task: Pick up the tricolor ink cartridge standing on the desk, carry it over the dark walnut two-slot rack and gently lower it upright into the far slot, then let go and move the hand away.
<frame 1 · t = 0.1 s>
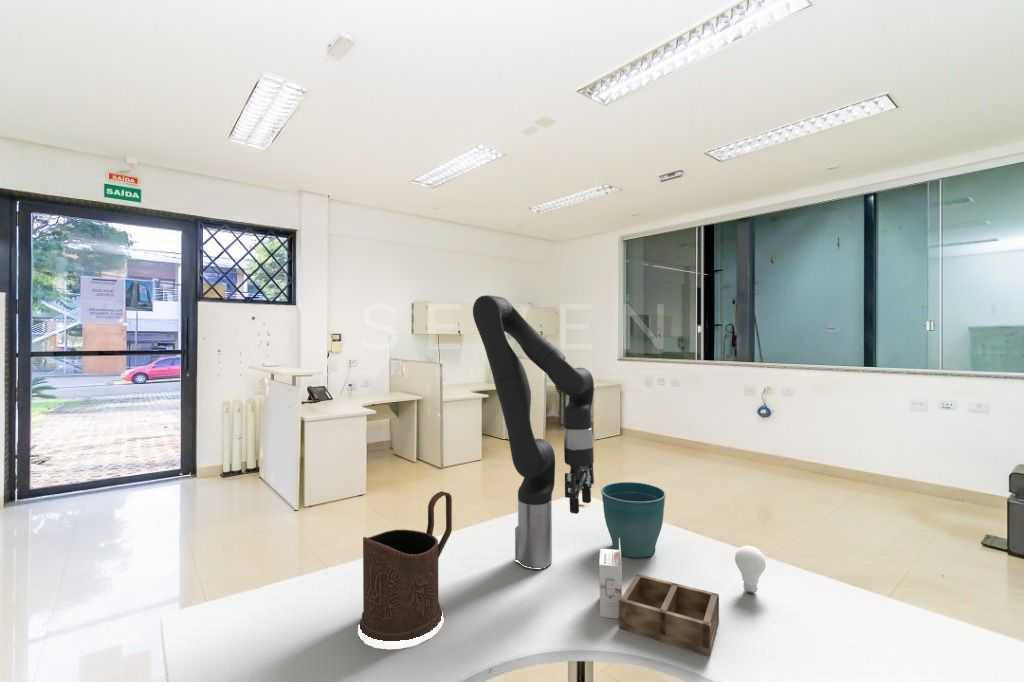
hand: (580, 507, 123), 17 cm above the table, tool pointing down, fingers open, 8 cm apart
flower pot: (632, 550, 138), on the table
cup holder: (411, 617, 105), on the table
ink cartridge box: (610, 608, 108), on the table
walnut rack: (669, 625, 101), on the table
light bulb: (750, 593, 114), on the table
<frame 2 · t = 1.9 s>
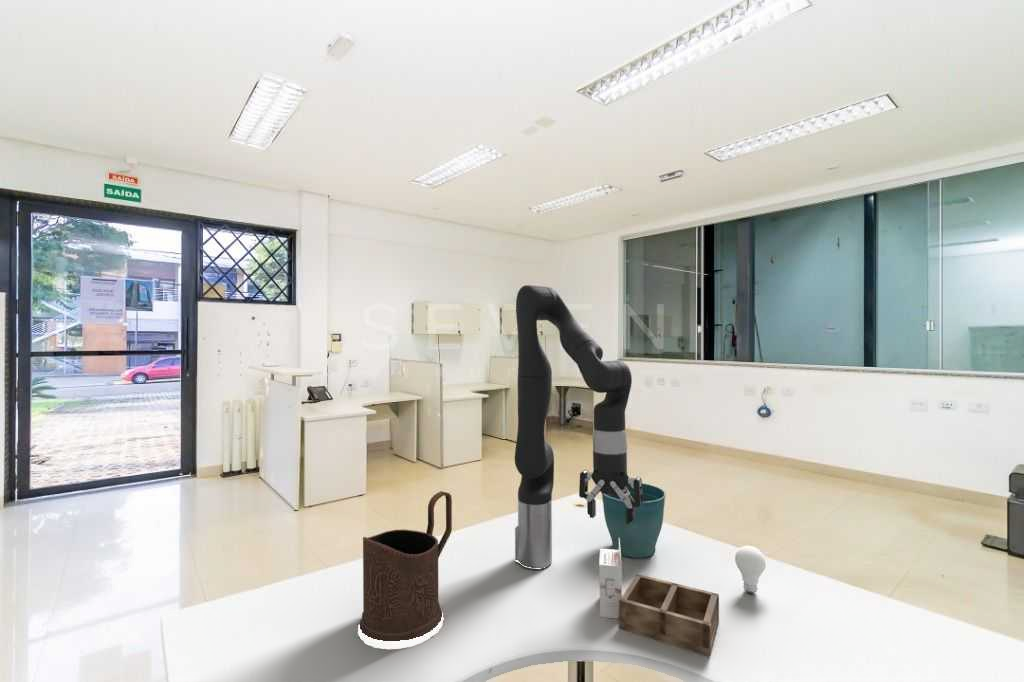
hand: (610, 520, 108), 20 cm above the table, tool pointing down, fingers open, 8 cm apart
nothing on the table moved.
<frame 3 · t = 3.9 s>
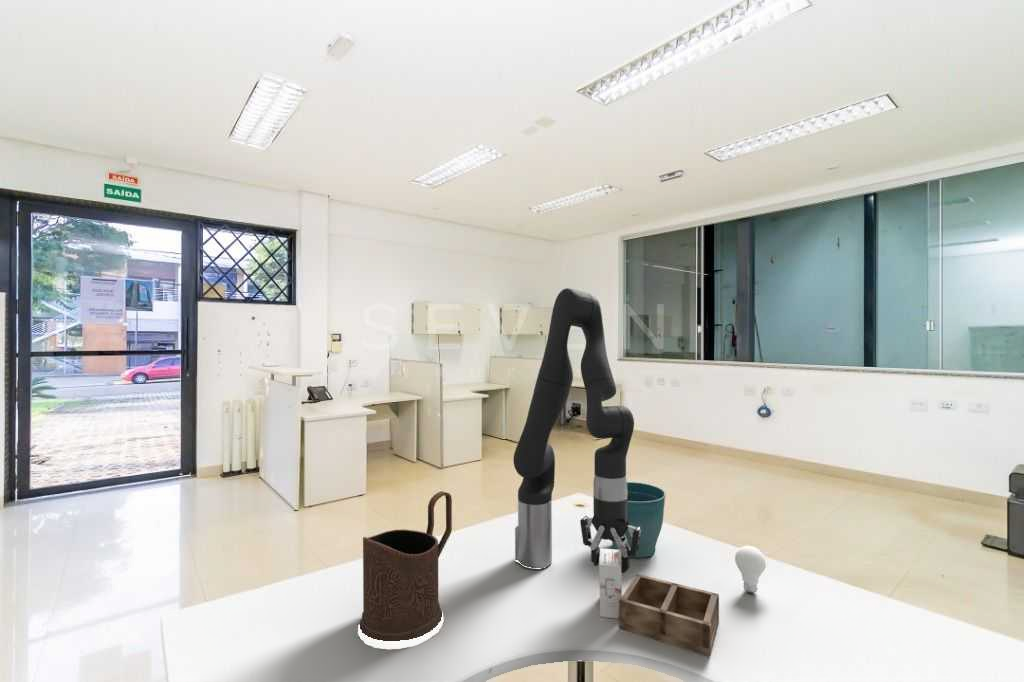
hand: (610, 567, 108), 9 cm above the table, tool pointing down, fingers closed on ink cartridge box, 6 cm apart
ink cartridge box: (610, 608, 108), on the table, touching gripper
everything else where it was.
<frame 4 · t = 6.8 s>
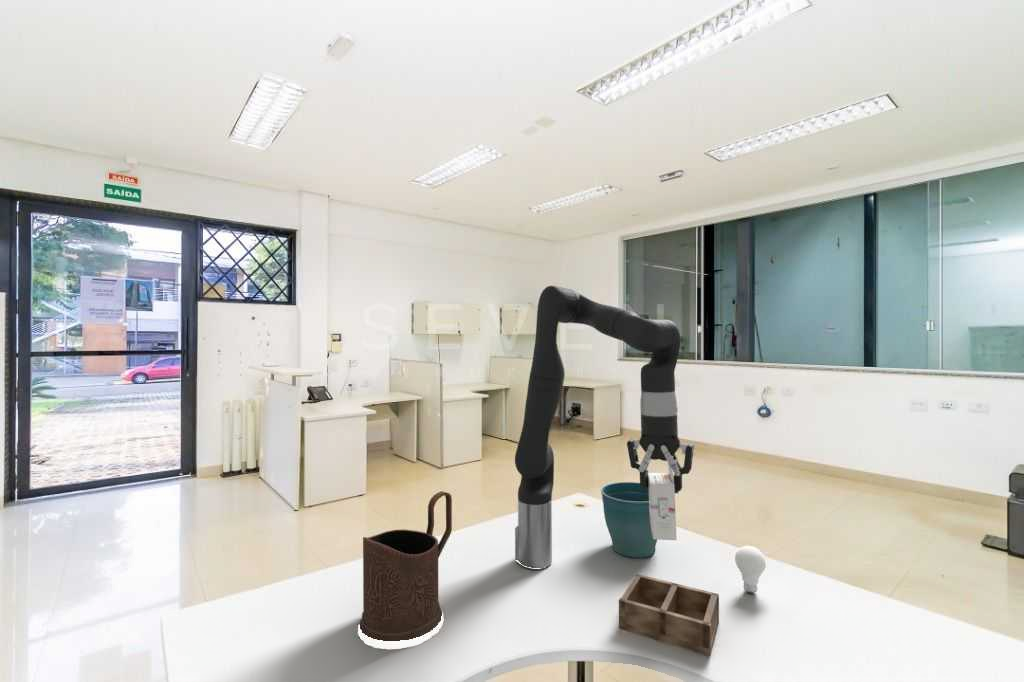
hand: (661, 490, 102), 29 cm above the table, tool pointing down, fingers closed on ink cartridge box, 6 cm apart
ink cartridge box: (662, 533, 102), point 19 cm above the table, touching gripper
everything else where it was.
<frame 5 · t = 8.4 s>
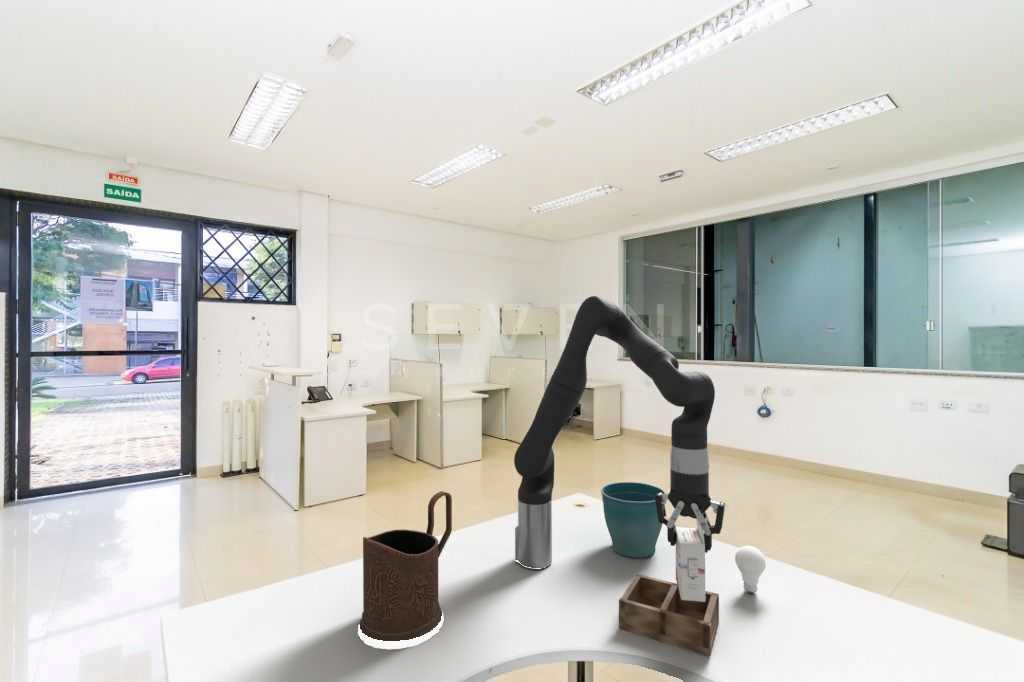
hand: (689, 547, 99), 17 cm above the table, tool pointing down, fingers closed on ink cartridge box, 6 cm apart
ink cartridge box: (689, 591, 100), point 8 cm above the table, touching gripper
everything else where it was.
when the fingers open (11 cm above the table, at t = 10.0 s): ink cartridge box stays where it is, resting on walnut rack.
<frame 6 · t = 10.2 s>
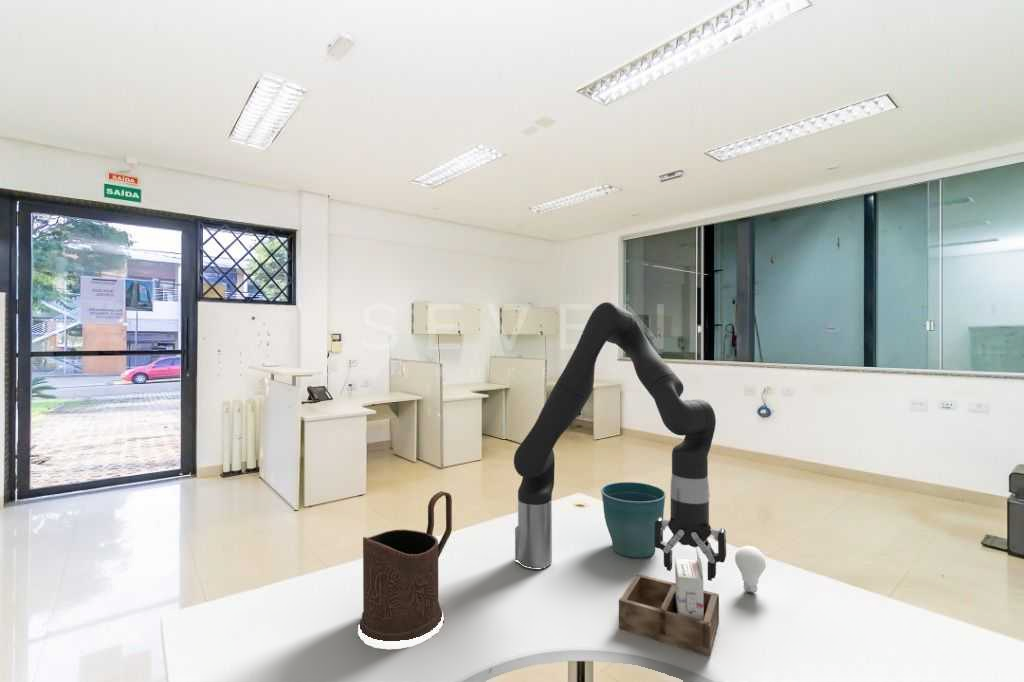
hand: (689, 574, 99), 12 cm above the table, tool pointing down, fingers open, 7 cm apart
ink cartridge box: (688, 624, 99), point 1 cm above the table, touching walnut rack
everything else where it was.
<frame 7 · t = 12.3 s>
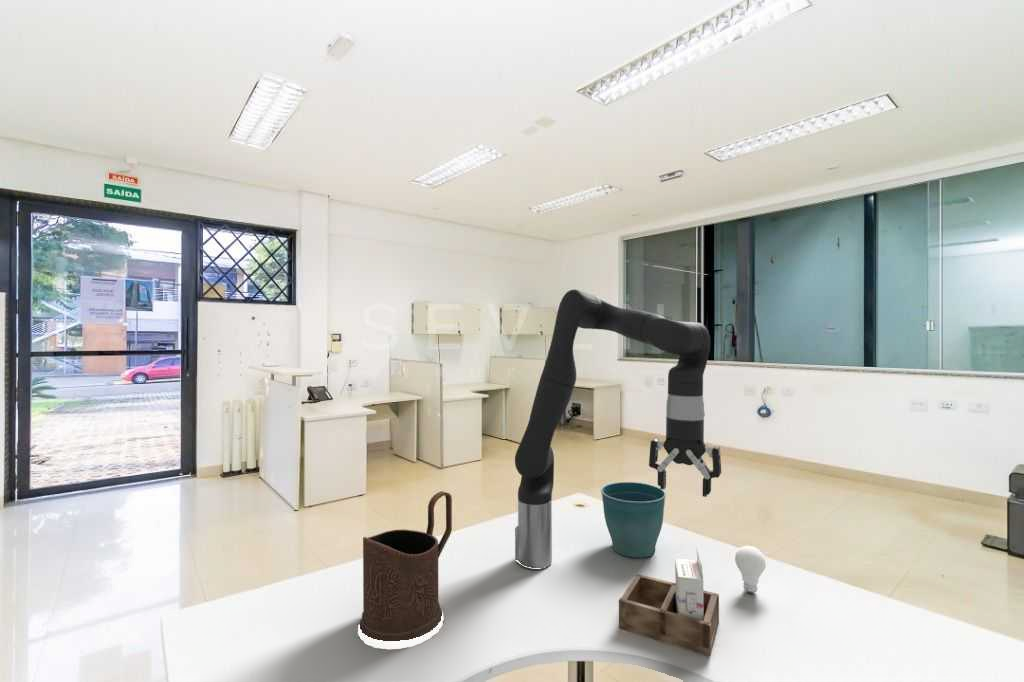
hand: (683, 492, 101), 29 cm above the table, tool pointing down, fingers open, 8 cm apart
nothing on the table moved.
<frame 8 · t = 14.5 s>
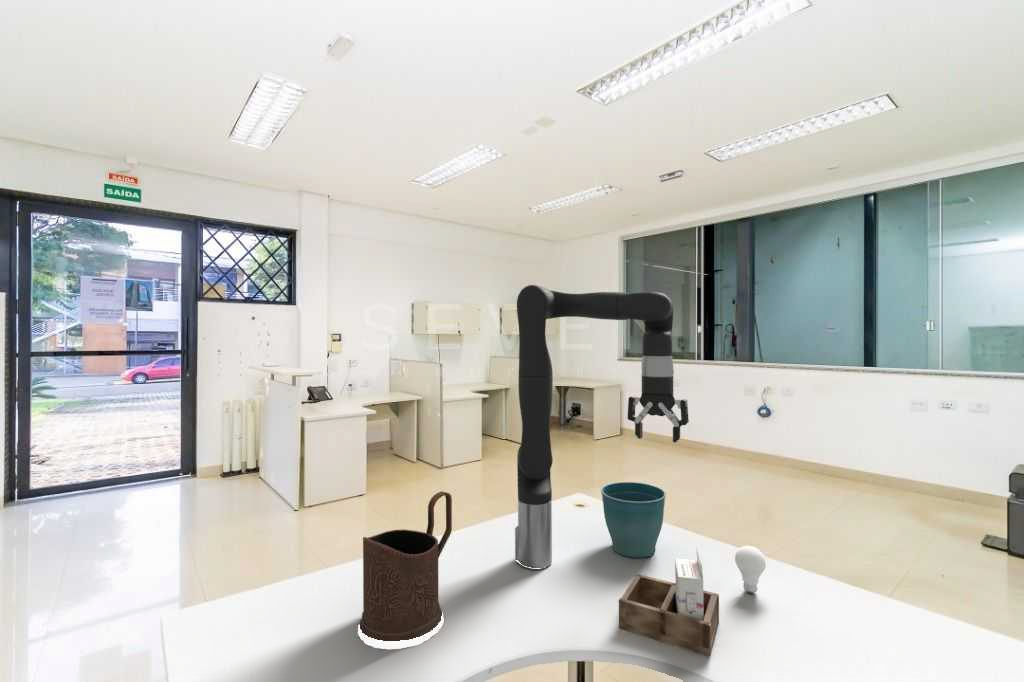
hand: (657, 440, 117), 36 cm above the table, tool pointing down, fingers open, 8 cm apart
nothing on the table moved.
at the end: ink cartridge box 0.2 cm from the target spot on the walnut rack, point 1.3 cm above the walnut rack's base; ink cartridge box tilted 0°; the gripper is holding nothing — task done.
